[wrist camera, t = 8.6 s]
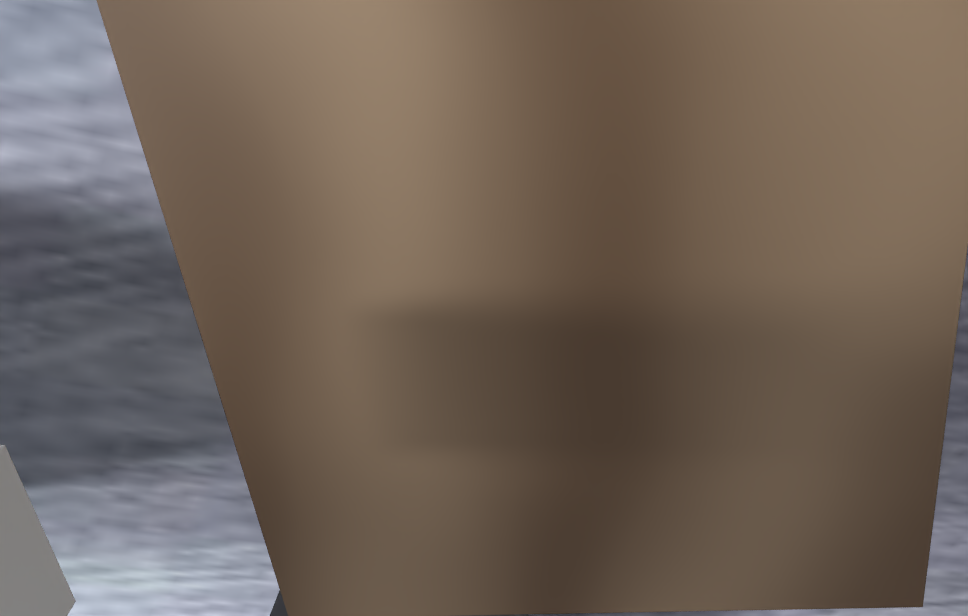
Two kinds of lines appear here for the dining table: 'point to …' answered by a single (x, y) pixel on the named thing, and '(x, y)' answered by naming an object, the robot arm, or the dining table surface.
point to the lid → (570, 290)
